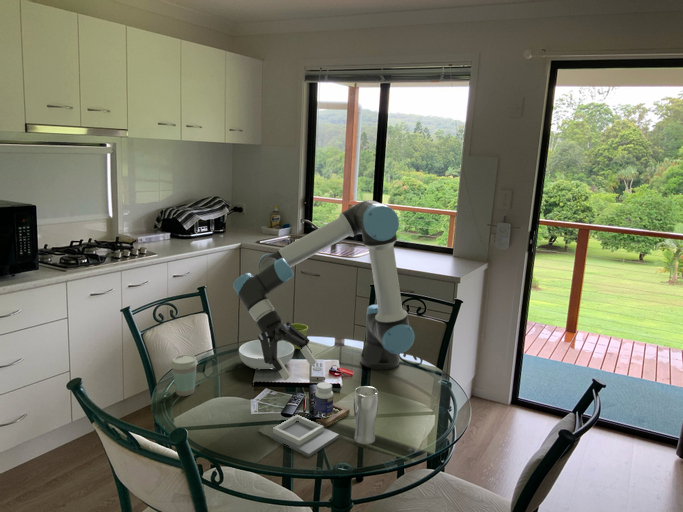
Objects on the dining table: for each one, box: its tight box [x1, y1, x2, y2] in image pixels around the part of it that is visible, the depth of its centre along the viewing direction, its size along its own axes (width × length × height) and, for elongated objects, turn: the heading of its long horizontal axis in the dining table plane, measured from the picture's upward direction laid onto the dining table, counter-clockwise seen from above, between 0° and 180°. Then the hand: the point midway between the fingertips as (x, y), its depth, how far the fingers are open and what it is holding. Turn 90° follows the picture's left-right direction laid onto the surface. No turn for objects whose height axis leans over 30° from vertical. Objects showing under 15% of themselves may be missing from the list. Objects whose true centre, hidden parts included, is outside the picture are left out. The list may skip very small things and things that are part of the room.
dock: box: [272, 413, 340, 458], centre depth 158 cm, size 13×20×2 cm, turn 52°
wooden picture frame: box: [305, 402, 350, 428], centre depth 170 cm, size 12×12×2 cm
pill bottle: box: [314, 381, 334, 417], centre depth 169 cm, size 6×6×10 cm
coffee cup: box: [170, 354, 199, 397], centre depth 181 cm, size 8×9×12 cm
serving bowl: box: [238, 338, 295, 370], centre depth 205 cm, size 21×21×7 cm
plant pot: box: [288, 323, 309, 350], centre depth 224 cm, size 9×9×9 cm
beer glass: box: [353, 385, 379, 446], centre depth 155 cm, size 7×7×15 cm
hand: (301, 371), depth 171 cm, fingers open, 13 cm apart
